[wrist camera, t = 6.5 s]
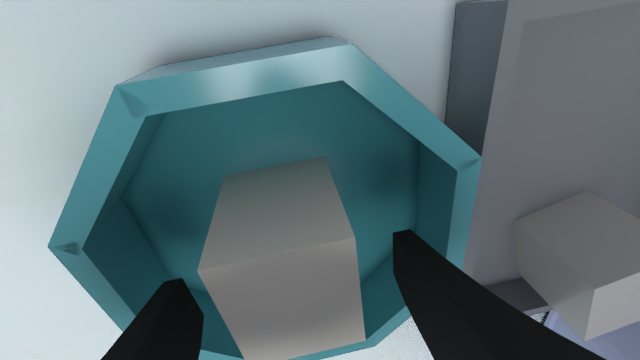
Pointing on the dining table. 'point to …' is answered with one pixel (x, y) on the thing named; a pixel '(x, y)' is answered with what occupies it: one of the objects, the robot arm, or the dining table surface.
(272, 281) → the white rectangular block
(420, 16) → the dining table surface
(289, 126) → the bowl
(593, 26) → the parts tray
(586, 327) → the light gray cube block
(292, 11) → the dining table surface
